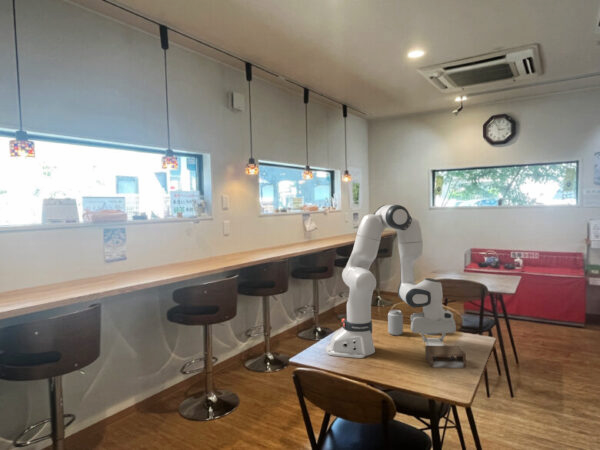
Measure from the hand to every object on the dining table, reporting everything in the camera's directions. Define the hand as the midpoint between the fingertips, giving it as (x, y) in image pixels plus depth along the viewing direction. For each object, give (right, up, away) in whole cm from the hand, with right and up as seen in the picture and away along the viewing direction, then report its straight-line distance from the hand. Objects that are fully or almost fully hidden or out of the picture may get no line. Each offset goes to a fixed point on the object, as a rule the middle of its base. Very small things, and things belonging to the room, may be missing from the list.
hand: (433, 341), depth 180 cm
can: (-13, -2, +18) cm, 23 cm away
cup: (+5, -1, +18) cm, 19 cm away
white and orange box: (-1, -2, -6) cm, 7 cm away
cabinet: (-2, -3, -20) cm, 20 cm away
